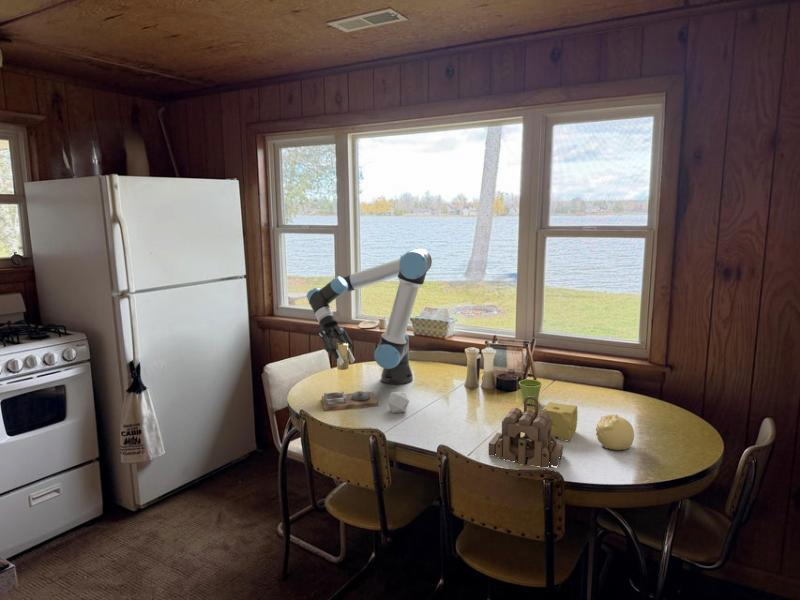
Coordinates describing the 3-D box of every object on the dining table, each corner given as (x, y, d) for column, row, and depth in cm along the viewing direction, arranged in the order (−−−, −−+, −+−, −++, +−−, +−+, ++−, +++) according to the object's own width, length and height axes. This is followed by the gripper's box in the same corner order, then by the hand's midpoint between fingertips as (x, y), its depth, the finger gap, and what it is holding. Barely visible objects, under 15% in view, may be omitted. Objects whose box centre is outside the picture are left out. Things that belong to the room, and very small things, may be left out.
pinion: (348, 366, 237) (347, 342, 235) (349, 369, 232) (348, 345, 230) (336, 366, 236) (336, 342, 234) (337, 370, 231) (337, 345, 229)
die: (404, 418, 210) (414, 395, 213) (384, 408, 210) (395, 385, 212) (400, 417, 218) (410, 396, 221) (381, 408, 218) (392, 386, 220)
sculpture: (596, 437, 188) (597, 407, 187) (633, 442, 184) (634, 412, 182) (594, 450, 178) (595, 419, 176) (633, 456, 173) (635, 424, 172)
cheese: (569, 442, 184) (570, 414, 183) (539, 436, 190) (539, 409, 188) (577, 431, 193) (578, 405, 192) (547, 425, 199) (548, 400, 197)
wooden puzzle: (486, 458, 174) (486, 403, 171) (499, 440, 187) (500, 389, 184) (555, 472, 164) (557, 414, 161) (564, 452, 177) (566, 399, 174)
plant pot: (527, 408, 216) (528, 387, 215) (513, 401, 225) (514, 381, 223) (546, 404, 220) (546, 384, 219) (531, 397, 228) (532, 378, 227)
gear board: (372, 394, 235) (372, 385, 235) (377, 405, 222) (377, 396, 221) (322, 399, 231) (321, 389, 230) (324, 410, 217) (324, 400, 217)
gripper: (340, 321, 248) (361, 363, 239) (306, 326, 237) (326, 371, 227) (346, 311, 243) (368, 354, 234) (311, 317, 232) (333, 362, 222)
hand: (347, 362), depth 231 cm, fingers closed on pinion, 5 cm apart
